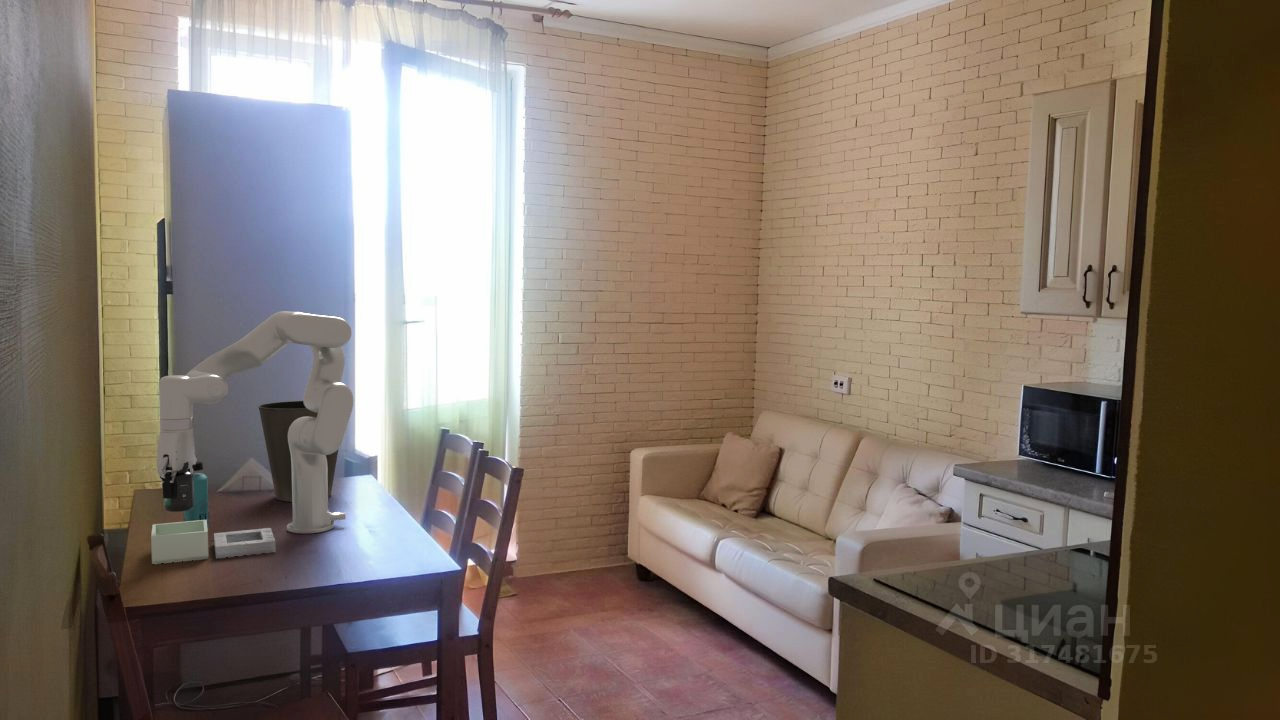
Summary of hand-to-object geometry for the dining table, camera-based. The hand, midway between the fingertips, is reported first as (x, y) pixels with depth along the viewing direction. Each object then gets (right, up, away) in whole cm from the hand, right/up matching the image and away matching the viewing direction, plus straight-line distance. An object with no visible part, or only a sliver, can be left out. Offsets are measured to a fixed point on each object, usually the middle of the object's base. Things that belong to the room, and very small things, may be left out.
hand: (178, 494), depth 240 cm
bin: (0, -16, +1) cm, 16 cm away
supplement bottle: (0, -4, 0) cm, 4 cm away
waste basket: (+8, -10, +66) cm, 68 cm away
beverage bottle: (-5, -14, +21) cm, 26 cm away
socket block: (+13, -15, +8) cm, 22 cm away
